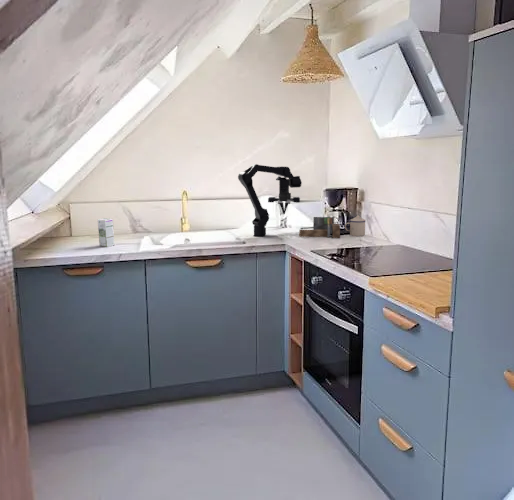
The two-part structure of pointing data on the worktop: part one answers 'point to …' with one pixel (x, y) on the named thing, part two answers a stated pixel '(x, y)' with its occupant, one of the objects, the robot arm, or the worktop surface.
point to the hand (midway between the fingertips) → (284, 214)
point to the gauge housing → (321, 224)
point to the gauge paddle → (328, 228)
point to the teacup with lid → (357, 226)
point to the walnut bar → (313, 233)
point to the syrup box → (106, 232)
